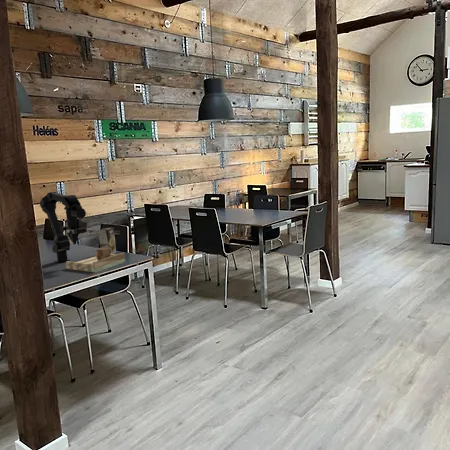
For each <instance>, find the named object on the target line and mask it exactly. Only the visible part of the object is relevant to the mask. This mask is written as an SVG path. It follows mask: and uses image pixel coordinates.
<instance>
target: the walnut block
mask: <svg viewBox="0 0 450 450" xmlns="http://www.w3.org/2000/svg"><path fill="white" fill-rule="evenodd" d="M96 252H97V260H101V259H104V258H108V257H110V249H109V248H100V247H99V248H97V249H96Z"/></svg>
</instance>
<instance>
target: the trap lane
mask: <svg viewBox="0 0 450 450" xmlns="http://www.w3.org/2000/svg"><path fill="white" fill-rule="evenodd" d="M125 255H126V254H125V252H121V253H117V254H116V253H114V254H110V257H108V258H104V259H101V260H97V251H96V252H94V256H91V257H88V258H85V259H82V260H78V261H71V260H70V261H66V262H65V264H66V265H65V267H66V269H67V270H74V271H82V272H91V273H98V272H101V271H103V270H106V269H109V268H111V267H115V266H118V265H121V264H123V263H126V258H125V257H126V256H125Z"/></svg>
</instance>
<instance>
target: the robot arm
mask: <svg viewBox="0 0 450 450" xmlns="http://www.w3.org/2000/svg"><path fill="white" fill-rule="evenodd" d="M58 202H60V203H61V204H62V205H63V207H64V208H63V210H65V214H66V215H65V216H66V217H65V218H66V219H65V222H66V224H67V225H63V226H61V224H60V222H59V219H58V216H57V213H56V209H57V203H58ZM39 207H40V208H41V210H42V212H44V213H45V214H46V216H47V219H48V221H49V224H50V227H51V229H52V233H53V236H54V239H53V246H52V248H51V250H52V253H54V254H56V260H54V262H55V263H59V264H62V263H66V262H67V261H70V262H71V259H69V258H68V253H67V251H70V249H71V242H72V244H73V245H77V241H78V237H79V235H81V234H85V233H87V232H88V230H87V228H88V222H86V221H82V220H81V219H84V218H85V217H86V216H87V212H86V210H85V208H83V207H82V205H81V202H80V201H79V198H78V197H77V196H76V195H75V194H69V195H66V194H63V193H60V192H57V191H50V192H47V193H46V195H45V196H44V197H42V198H41V199H40V201H39ZM65 231H66V232H65ZM64 232H65V233H64ZM65 234H66V235H65ZM70 240H71V242H70Z"/></svg>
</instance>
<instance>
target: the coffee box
mask: <svg viewBox="0 0 450 450" xmlns="http://www.w3.org/2000/svg"><path fill="white" fill-rule="evenodd" d="M115 237H116V236H115V227H104V228H102V229H99V230H98V238H99V249H100V248H109V249H110V254H116V253H117V248H116V238H115Z"/></svg>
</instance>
